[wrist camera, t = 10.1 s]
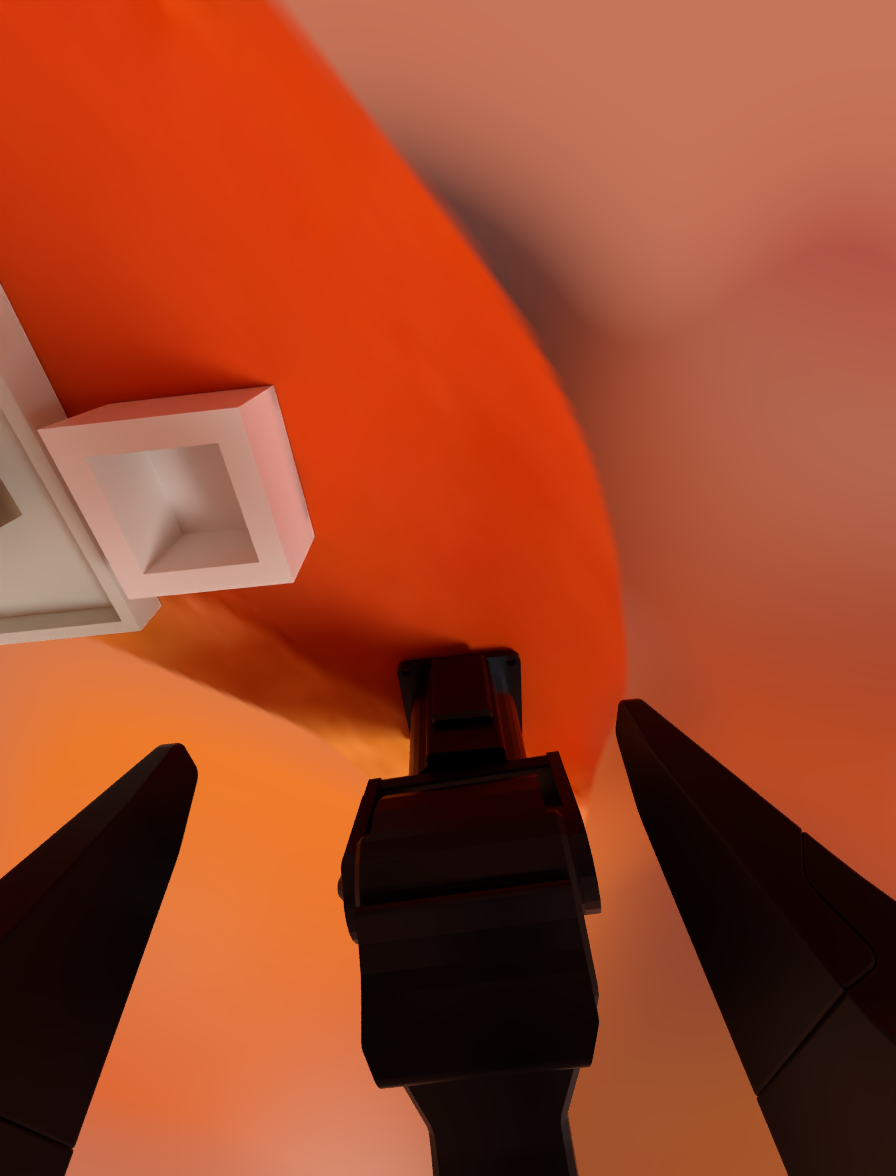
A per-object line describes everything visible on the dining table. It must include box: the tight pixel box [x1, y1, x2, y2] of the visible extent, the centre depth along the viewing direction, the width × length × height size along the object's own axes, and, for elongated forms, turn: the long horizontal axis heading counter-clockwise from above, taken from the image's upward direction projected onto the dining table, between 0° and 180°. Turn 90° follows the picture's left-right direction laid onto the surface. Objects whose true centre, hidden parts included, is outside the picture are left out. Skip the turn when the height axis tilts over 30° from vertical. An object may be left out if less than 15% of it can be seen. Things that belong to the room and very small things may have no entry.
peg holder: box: [37, 385, 315, 599], centre depth 18 cm, size 6×6×4 cm
